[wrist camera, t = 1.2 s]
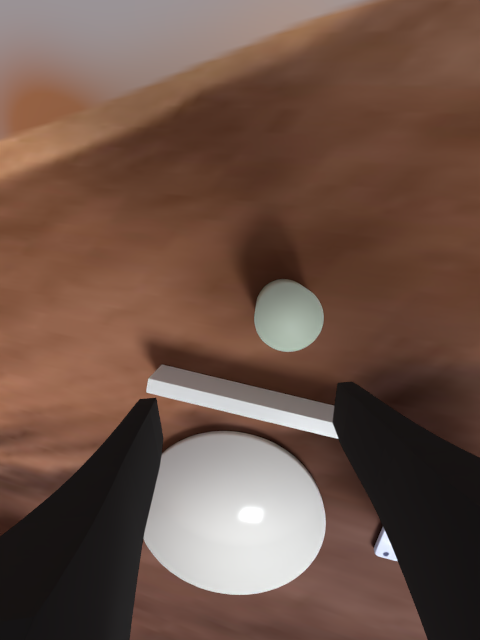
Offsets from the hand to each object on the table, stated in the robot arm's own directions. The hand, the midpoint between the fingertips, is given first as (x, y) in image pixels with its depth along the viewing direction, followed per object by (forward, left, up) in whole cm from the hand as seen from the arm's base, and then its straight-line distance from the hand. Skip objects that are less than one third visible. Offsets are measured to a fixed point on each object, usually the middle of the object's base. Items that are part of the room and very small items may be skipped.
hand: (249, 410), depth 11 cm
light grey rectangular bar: (-2, +5, -13) cm, 14 cm away
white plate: (-2, +18, -13) cm, 22 cm away
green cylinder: (-2, -3, -13) cm, 13 cm away
